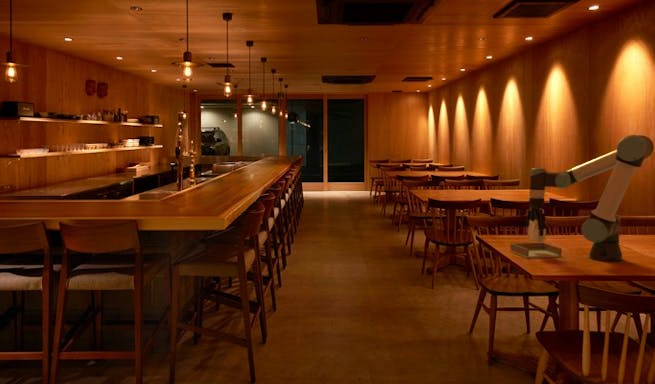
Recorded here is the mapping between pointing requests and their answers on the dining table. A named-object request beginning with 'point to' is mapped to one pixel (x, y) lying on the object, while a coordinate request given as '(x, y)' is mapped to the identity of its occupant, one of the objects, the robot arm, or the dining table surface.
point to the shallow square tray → (535, 250)
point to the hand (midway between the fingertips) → (535, 240)
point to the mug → (535, 231)
